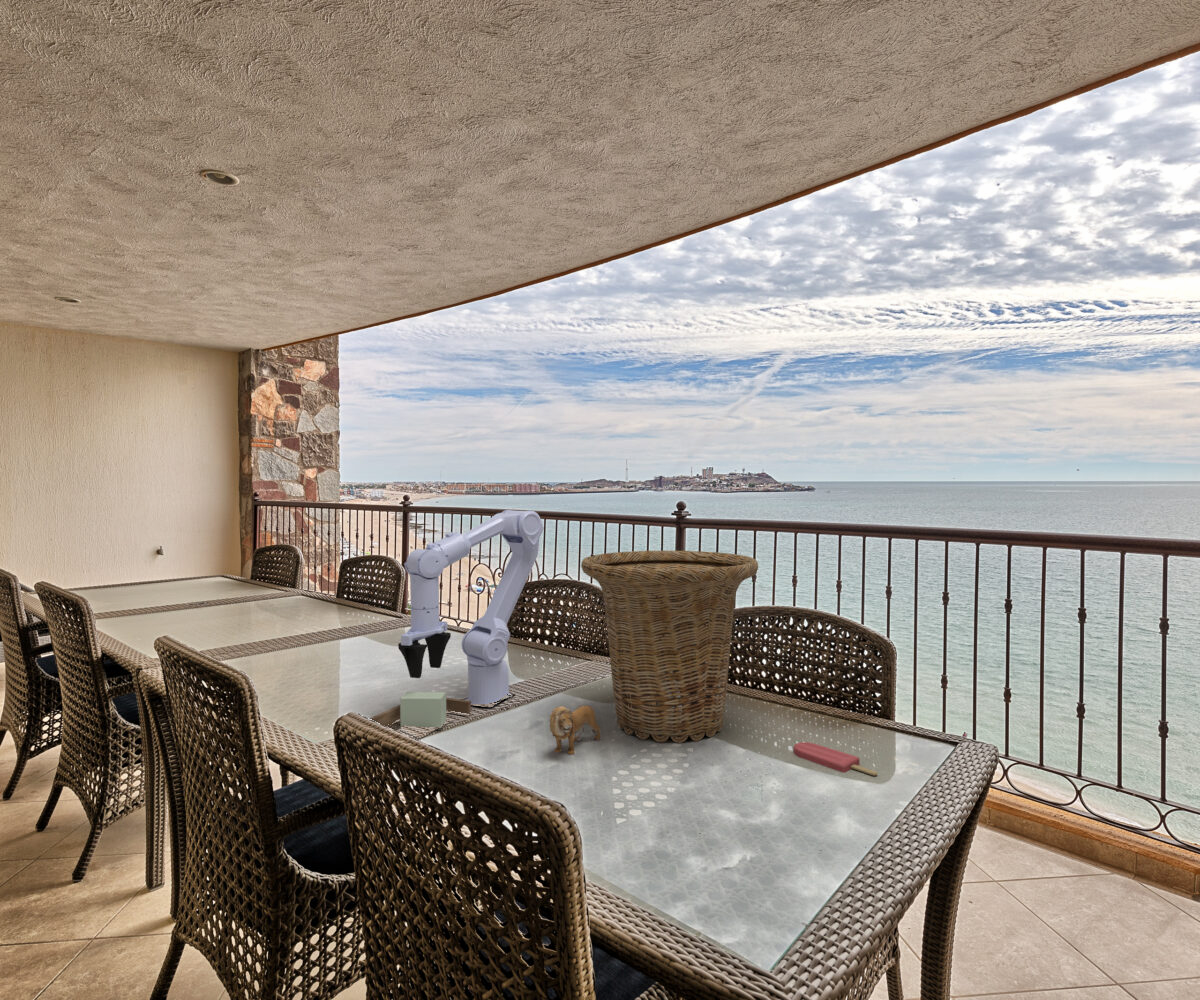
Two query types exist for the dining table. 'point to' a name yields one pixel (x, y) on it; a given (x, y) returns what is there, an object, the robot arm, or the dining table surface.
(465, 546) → the robot arm
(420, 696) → the sage block
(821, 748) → the popsicle
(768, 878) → the dining table surface
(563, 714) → the lion figurine
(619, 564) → the wicker basket
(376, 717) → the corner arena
